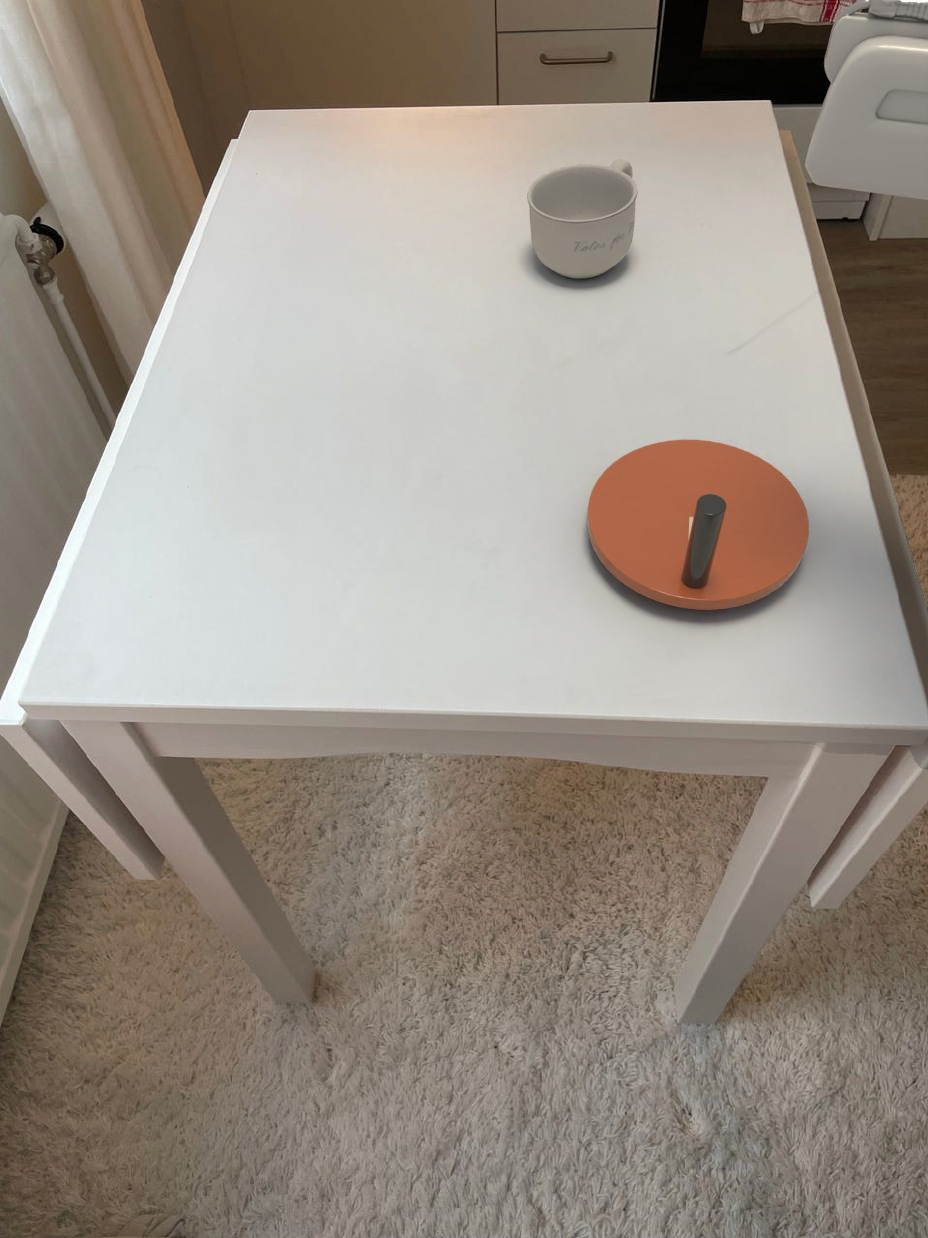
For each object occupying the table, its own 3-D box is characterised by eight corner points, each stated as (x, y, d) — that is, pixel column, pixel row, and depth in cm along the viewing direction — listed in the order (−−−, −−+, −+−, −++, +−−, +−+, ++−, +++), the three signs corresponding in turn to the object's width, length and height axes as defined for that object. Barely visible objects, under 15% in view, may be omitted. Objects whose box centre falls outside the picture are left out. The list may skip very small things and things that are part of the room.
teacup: (579, 305, 96) (583, 232, 89) (505, 261, 101) (504, 189, 94) (672, 248, 101) (682, 174, 94) (597, 209, 106) (602, 137, 99)
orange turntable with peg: (850, 565, 72) (888, 479, 65) (652, 640, 69) (667, 558, 62) (730, 426, 82) (751, 337, 75) (551, 487, 79) (554, 400, 71)
